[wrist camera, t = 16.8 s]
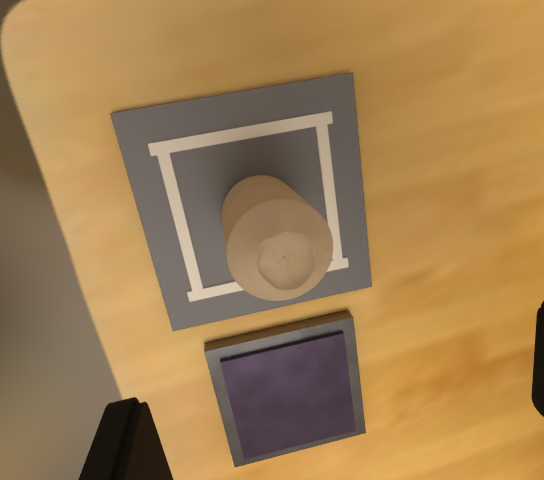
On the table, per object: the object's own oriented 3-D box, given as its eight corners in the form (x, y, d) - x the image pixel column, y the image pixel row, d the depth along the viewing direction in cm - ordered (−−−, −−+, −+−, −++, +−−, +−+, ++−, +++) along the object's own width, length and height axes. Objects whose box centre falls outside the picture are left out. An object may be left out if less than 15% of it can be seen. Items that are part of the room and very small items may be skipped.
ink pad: (348, 310, 31) (354, 319, 30) (360, 422, 35) (367, 436, 34) (204, 343, 30) (204, 354, 29) (233, 456, 34) (235, 471, 33)
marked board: (349, 73, 26) (353, 71, 25) (369, 283, 31) (372, 287, 30) (112, 113, 24) (109, 113, 24) (173, 327, 29) (172, 332, 29)
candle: (204, 210, 26) (201, 260, 17) (264, 157, 26) (294, 179, 17) (256, 263, 28) (279, 335, 19) (312, 214, 28) (364, 264, 18)
